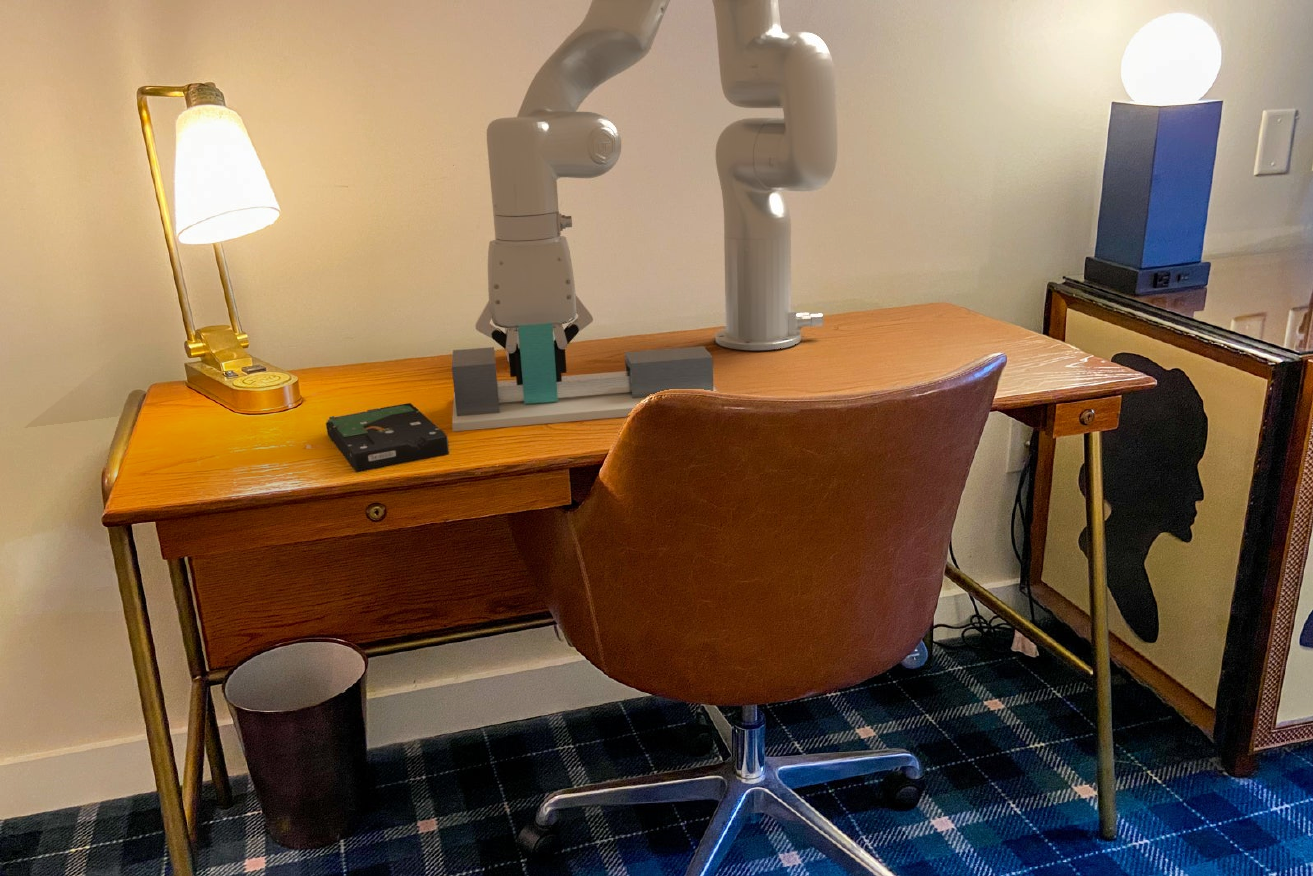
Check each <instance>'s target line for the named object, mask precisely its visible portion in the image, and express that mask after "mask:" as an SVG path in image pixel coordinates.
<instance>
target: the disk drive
mask: <svg viewBox="0 0 1313 876" xmlns="http://www.w3.org/2000/svg"><path fill="white" fill-rule="evenodd" d="M326 420H327V421H326V422H325V425H326V426H325V427H326V432H327V436H328V438H329V439H330V441H331V442H332V443H333V444H334V445H335V447H336V448H337V449H338V451H339V452H340V453H341V455H342V456H343V457H344V458H345V460H346V461H347V463H348V464H349V466H350V467H351V468H352V469H353V470H354V471H355V473H362V472H367V471H372V470H377V469H381V468H382V469H383V468H387V467H392V466H397V465H403V464H408V463H413V462H419V461H423V460H428V459H433V458H436V457H437V458H438V457H442V456H449V455H450V449H449V446H450V445H449V440H448V435H447V434H446V433H445V432H444V431H443V430H442V429H440V428H439V426H437V425H436V424H435V423H434V422H433V421H432V420H431V419H429V418H428V416H427V417H426V416H425V414H424V413H423V412H421V411H420V410H419V409H418V407H416V406H414V405H413V404H412V403H410V402H408V403H402V404H397V405H396V404H395V405H390V406H385V407H380V408H373V409H367V410H366V411H362V412H357V413H350V414H344V415H340V416H335V415H333V416H329V417H328V419H326Z"/></svg>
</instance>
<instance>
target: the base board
mask: <svg viewBox="0 0 1313 876" xmlns="http://www.w3.org/2000/svg"><path fill="white" fill-rule="evenodd" d="M713 391H717V392H718V390H717V389H716V387H715V386H714V385H713ZM642 399H645V398H635V399H633V398H632V394H631V392H623V393H611V394H599V395H587V396H574V397H562V398H558V401H556V402H544V403H532V404H525V403H524V401H514V402H502V403H499V408H500V413H491V414H479V415H467V416H457V412H456V403H455V393H454V392H453V402H452V403H453V405H452V420H451V422H452V423H451V425H452V432H462V431H474V430H483V429H484V430H485V429H497V428H508V427H520V426H533V425H543V424H554V423H567V422H577V421H578V422H579V421H589V420H603V419H604V420H605V419H612V418H613V419H614V418H627V417H629V416H628V414H629V413H630V412H631V411H632V409H633V408H634V407H635V406H636V404H637V403H639V402H640V401H641V400H642Z"/></svg>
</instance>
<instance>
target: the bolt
mask: <svg viewBox="0 0 1313 876" xmlns="http://www.w3.org/2000/svg"><path fill="white" fill-rule="evenodd" d="M518 338H519V349H520V355H521V367H522V380H523V384H521V385H517V380H516V379H511V380H509V379H508V380H500V381H499V380H497V386H498V397H499V403H502V402H514V401H524V403H525V404H532V403H544V402H556V401H558V398H562V397H574V396H587V395H599V394H611V393H623V392H631V373H630V371H626V370H623V371H611V372H600V373H599V372H597V373H587V374H585V373H584V374H571V375H561V376H562V382H557V381H556V367H555V353H554V339H553V325H552V323H546V324H533V325H518Z"/></svg>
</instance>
